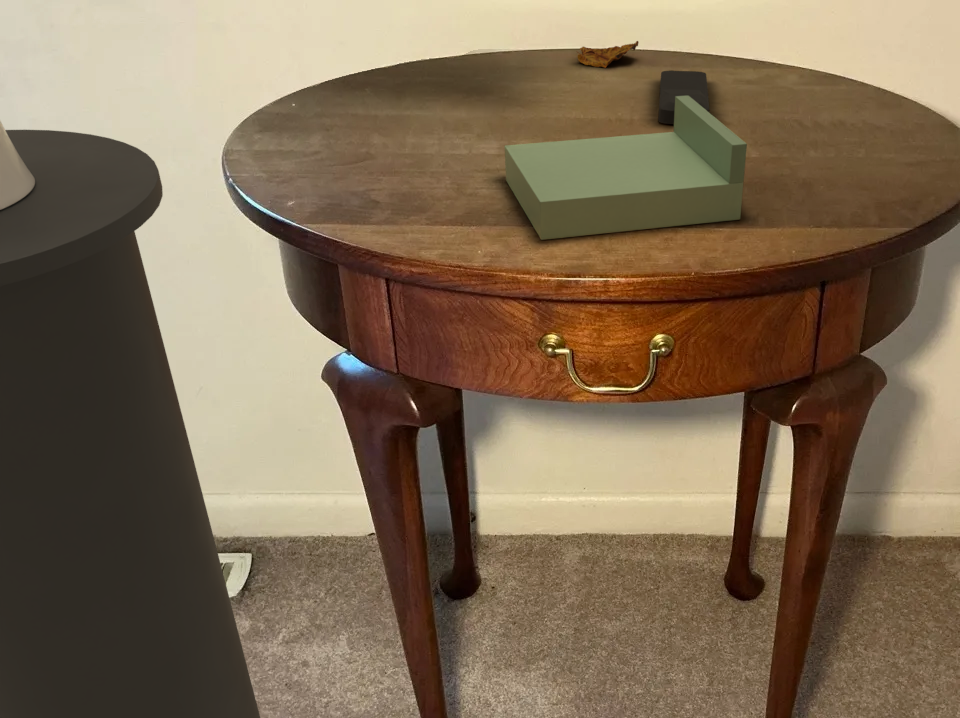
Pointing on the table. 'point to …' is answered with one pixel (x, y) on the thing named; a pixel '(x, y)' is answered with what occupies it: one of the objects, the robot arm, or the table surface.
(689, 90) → the remote control
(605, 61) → the leaf
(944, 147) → the table surface
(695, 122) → the green l-shaped bracket
